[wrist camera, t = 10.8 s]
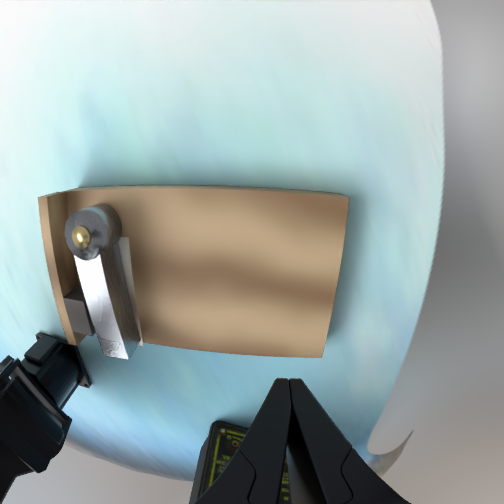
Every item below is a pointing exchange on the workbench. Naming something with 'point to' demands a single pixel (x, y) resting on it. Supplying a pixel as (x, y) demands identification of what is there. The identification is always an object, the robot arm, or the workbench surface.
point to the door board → (211, 265)
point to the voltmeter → (225, 460)
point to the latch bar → (103, 277)
